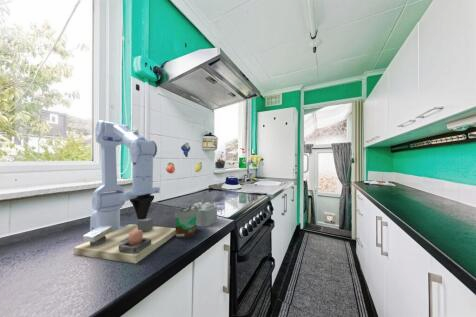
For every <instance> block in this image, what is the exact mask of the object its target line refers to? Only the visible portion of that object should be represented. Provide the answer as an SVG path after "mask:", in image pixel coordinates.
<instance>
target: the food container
mask: <svg viewBox="0 0 476 317" xmlns="http://www.w3.org/2000/svg"><path fill="white" fill-rule="evenodd" d="M198 213H199V209H198V207H197V206H196V205H194V204H189V206H188V207H185V208H183V209H181V210H180V211H174V217H173V218H174V219H175V222H174V224H175V228H176V235H175V238H176V239H186V238H190V237H192V236H194V235H195V234H196V232H197V231H196V230H197V226H196V221H197V214H198Z"/></svg>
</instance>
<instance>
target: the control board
mask: <svg viewBox="0 0 476 317" xmlns="http://www.w3.org/2000/svg"><path fill="white" fill-rule="evenodd" d="M120 227H121V228H119V229H117V230H114V231H112V232H110V233H108V234H107V235H105V236H103V237H102V238H100V239H98V240H97V241H95V242H90V241H85V242H83V243H81V244H79V245H76V246H74V247H73V252H72V253H73V255H75V256H81V257H82V256H83V257H91V258H94V259H95V258H96V259H102V260H109V261H117V262H123V263H131V264H138V263H139V262H140V261H142V260H143V259H144V258H146V257H147V256H148V255H150V254H151V253H153V252H154V251H155V250H157V249H158V248H159V247H161V246H162V245H163V244H165V243H166V242H168V241H169V240H170V239H172V238H173V237H174V236H176V227H164V226H156V225H155V226H153V228H152V229H151V230H149V231H143V240H142V242H141V243H140V244H137V245H129V233H130V232H132V231H135V230H138V224H133V223H130V224H129V223H128V224H126V225H123V226H120Z"/></svg>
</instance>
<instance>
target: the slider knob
mask: <svg viewBox="0 0 476 317" xmlns="http://www.w3.org/2000/svg"><path fill="white" fill-rule="evenodd" d="M153 223H154V220H153V218H151V217H146V219H143V220H141V219H137V225H138V230H142V231H149V230H151V229H152V228H153Z"/></svg>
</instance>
